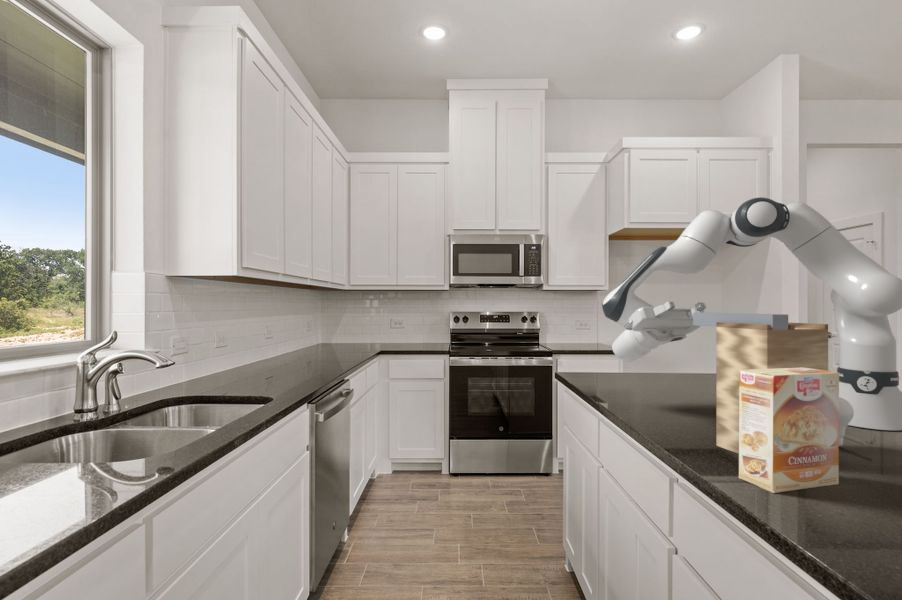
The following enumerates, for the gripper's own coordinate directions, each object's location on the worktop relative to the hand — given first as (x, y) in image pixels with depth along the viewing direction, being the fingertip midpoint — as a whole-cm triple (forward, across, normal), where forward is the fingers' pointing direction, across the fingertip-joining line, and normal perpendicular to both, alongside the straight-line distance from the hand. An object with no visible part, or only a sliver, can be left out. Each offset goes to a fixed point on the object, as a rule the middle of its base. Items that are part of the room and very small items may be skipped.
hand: (687, 304), depth 114 cm
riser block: (+1, +5, +36) cm, 36 cm away
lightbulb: (+2, +21, +37) cm, 42 cm away
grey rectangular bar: (+10, 0, +11) cm, 15 cm away
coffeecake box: (+13, -8, +43) cm, 45 cm away
